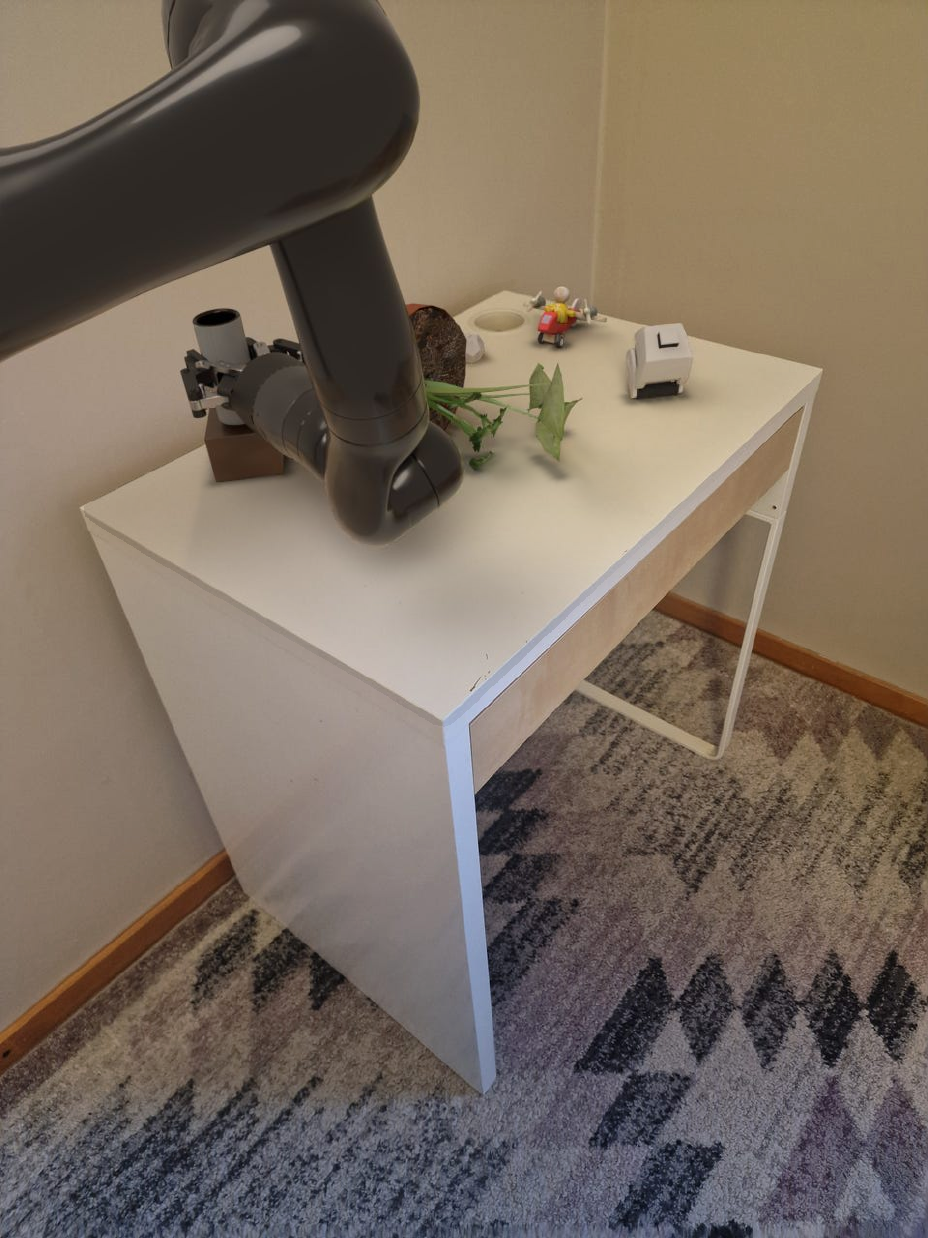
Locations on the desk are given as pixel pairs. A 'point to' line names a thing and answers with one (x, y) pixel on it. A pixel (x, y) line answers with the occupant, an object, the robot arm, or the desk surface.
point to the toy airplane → (560, 315)
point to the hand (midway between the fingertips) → (215, 352)
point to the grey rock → (474, 347)
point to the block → (239, 451)
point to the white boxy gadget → (659, 361)
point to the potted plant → (446, 380)
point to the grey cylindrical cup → (222, 345)
